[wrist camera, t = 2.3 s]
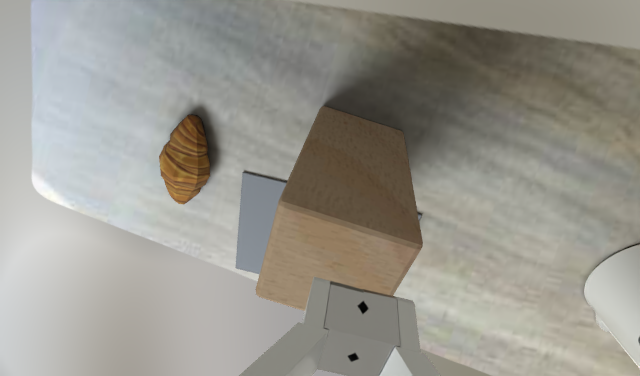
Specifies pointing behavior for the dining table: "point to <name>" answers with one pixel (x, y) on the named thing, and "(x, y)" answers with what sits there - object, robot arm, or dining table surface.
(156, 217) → the dining table surface
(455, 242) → the dining table surface
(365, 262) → the wooden block
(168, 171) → the croissant
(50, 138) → the dining table surface
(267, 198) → the felt mat
